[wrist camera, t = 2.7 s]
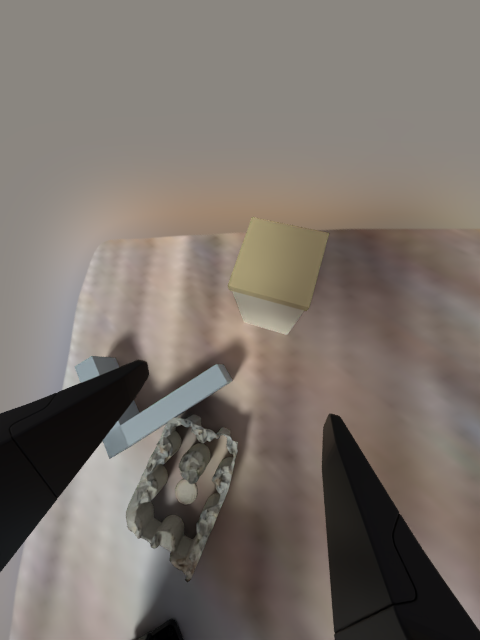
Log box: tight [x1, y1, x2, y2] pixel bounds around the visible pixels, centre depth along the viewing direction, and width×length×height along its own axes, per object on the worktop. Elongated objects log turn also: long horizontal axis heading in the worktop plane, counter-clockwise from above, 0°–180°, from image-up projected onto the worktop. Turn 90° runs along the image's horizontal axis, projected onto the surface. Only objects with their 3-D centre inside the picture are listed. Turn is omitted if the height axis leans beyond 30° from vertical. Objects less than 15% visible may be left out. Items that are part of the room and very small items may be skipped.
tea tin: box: [228, 217, 329, 335], centre depth 19 cm, size 5×5×11 cm
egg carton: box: [126, 414, 238, 582], centre depth 19 cm, size 11×8×4 cm
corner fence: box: [75, 356, 233, 459], centre depth 22 cm, size 10×12×4 cm
